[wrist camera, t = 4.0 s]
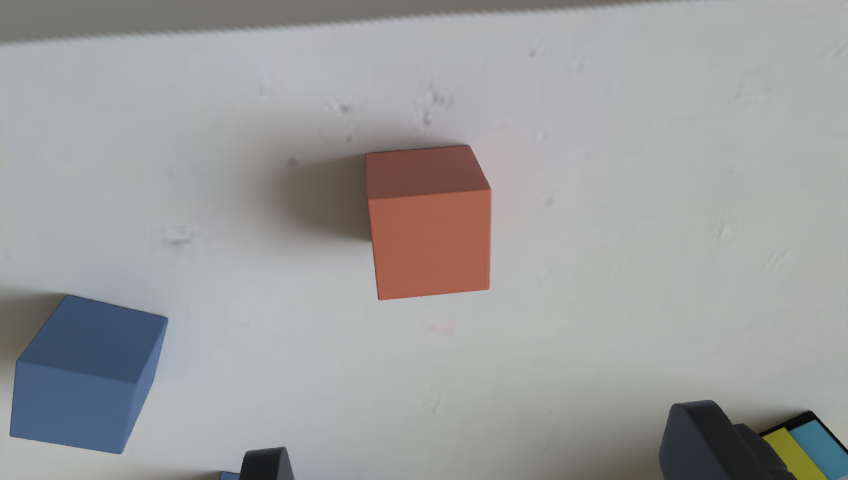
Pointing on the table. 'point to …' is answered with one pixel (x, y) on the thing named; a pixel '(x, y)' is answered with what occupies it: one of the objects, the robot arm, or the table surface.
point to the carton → (809, 449)
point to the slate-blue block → (86, 375)
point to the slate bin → (229, 476)
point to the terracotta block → (429, 222)
